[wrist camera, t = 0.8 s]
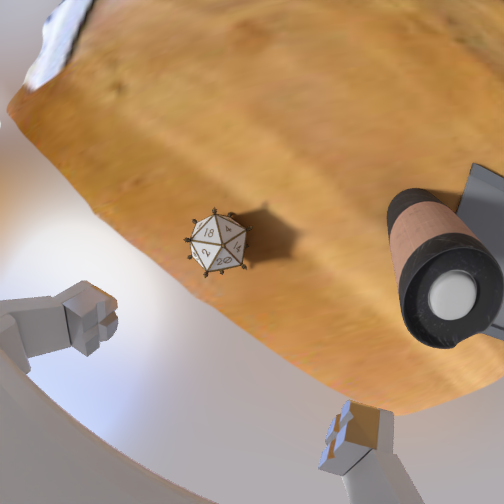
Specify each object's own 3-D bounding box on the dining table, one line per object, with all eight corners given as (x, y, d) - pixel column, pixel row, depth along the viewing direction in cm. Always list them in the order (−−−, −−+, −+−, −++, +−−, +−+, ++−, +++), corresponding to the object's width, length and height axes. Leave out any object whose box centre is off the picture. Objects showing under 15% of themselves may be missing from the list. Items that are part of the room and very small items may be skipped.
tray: (472, 162, 28) (475, 164, 27) (569, 220, 24) (573, 223, 23) (414, 305, 37) (415, 309, 36) (510, 339, 33) (512, 344, 32)
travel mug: (393, 177, 32) (425, 227, 15) (450, 196, 30) (524, 263, 13) (377, 237, 36) (382, 336, 18) (432, 254, 34) (473, 359, 16)
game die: (248, 215, 45) (268, 213, 35) (240, 274, 45) (257, 287, 35) (186, 206, 43) (188, 201, 33) (179, 267, 43) (178, 279, 33)
